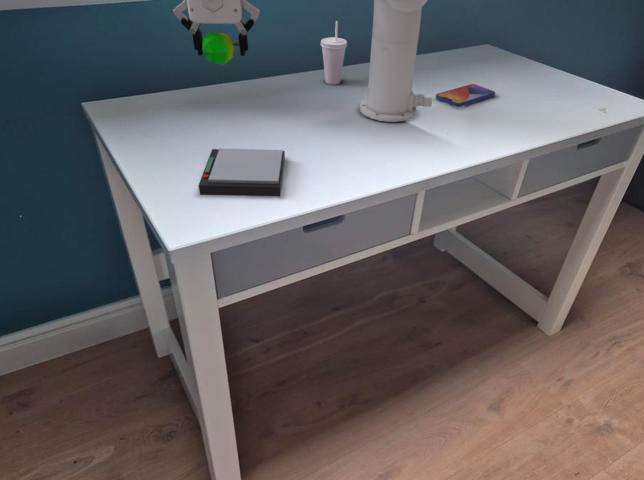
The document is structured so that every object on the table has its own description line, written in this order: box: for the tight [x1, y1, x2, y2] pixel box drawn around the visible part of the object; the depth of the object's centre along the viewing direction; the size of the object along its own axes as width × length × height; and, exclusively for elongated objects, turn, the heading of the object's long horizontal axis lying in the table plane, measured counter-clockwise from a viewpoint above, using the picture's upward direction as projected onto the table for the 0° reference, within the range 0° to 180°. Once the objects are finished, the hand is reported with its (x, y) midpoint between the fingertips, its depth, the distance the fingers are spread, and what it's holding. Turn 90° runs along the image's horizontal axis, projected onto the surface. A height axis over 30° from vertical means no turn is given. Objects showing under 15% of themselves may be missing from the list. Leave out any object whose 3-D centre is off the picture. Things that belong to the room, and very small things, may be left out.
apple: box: [202, 30, 240, 66], centre depth 102 cm, size 7×6×9 cm
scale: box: [198, 147, 286, 198], centre depth 86 cm, size 13×13×2 cm
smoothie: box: [319, 20, 348, 85], centre depth 120 cm, size 6×6×14 cm
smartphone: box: [435, 83, 496, 108], centre depth 120 cm, size 7×15×1 cm, turn 131°
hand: (222, 53), depth 103 cm, fingers closed on apple, 8 cm apart
